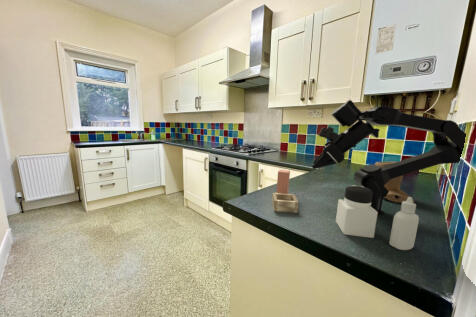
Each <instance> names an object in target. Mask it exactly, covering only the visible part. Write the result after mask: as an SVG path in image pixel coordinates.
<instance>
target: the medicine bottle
mask: <svg viewBox="0 0 476 317" xmlns="http://www.w3.org/2000/svg"><path fill="white" fill-rule="evenodd" d="M344 191H345V192H344V199H343V198H342V199H338V201H337V208H336V209H337V210H336V217H335V223H336V224H337V226H338V227H339V229H340V230H341V231H342V234H343V235H346V236H353V237H362V238H369V239H373V238H375V233H376V227H377V221H378V214H379V213H378V212H377V211H376V210H375V209H373V208H372V207H371V206H370V205H371V201H372V194H373V192H372V191H371V190H370V189H368V188H366V187H363V186H358V185H355V184H353V185H348V186H346V187H345V190H344Z"/></svg>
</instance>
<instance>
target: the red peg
mask: <svg viewBox="0 0 476 317" xmlns="http://www.w3.org/2000/svg"><path fill="white" fill-rule="evenodd" d="M290 174H291V171H290V170H286V169H285V170H284V169H279V170H278V171H277V180H276V193H282V194H289V190H290V189H289V188H290Z"/></svg>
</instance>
